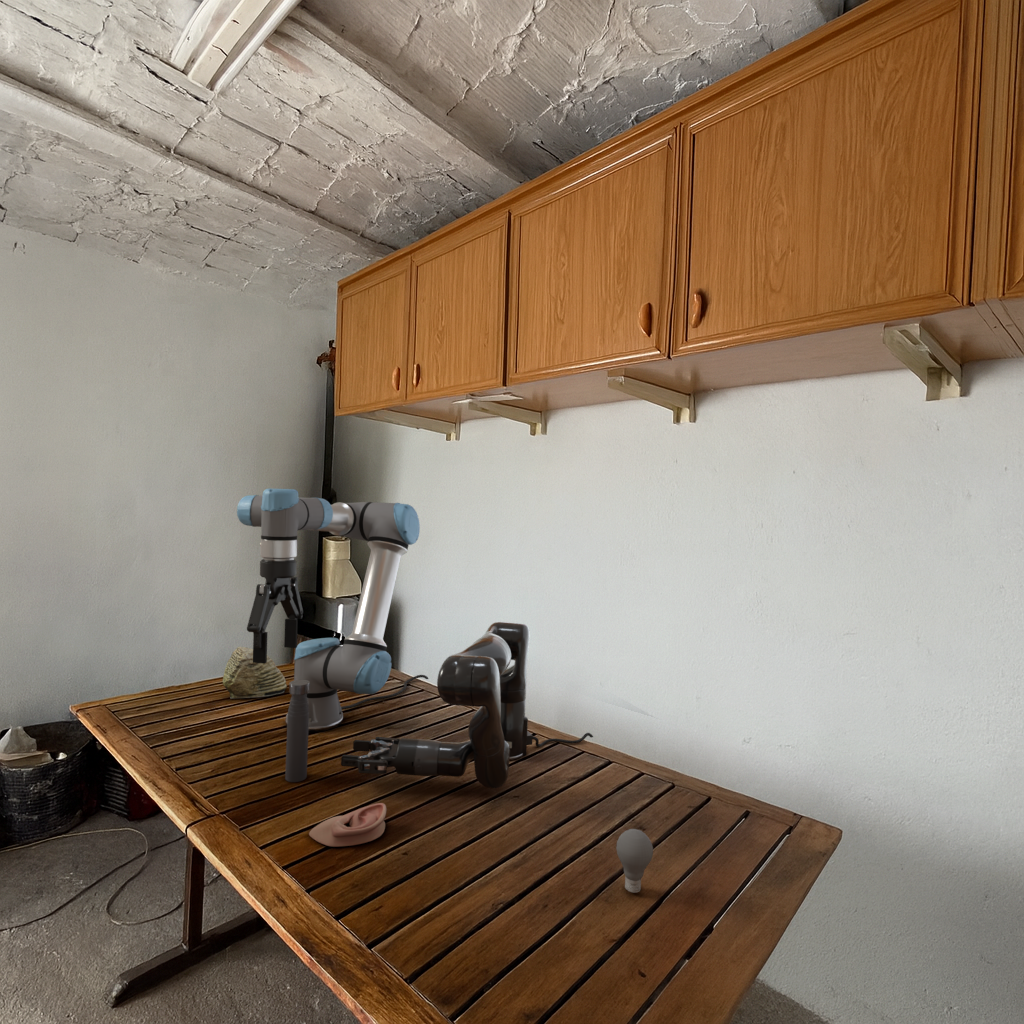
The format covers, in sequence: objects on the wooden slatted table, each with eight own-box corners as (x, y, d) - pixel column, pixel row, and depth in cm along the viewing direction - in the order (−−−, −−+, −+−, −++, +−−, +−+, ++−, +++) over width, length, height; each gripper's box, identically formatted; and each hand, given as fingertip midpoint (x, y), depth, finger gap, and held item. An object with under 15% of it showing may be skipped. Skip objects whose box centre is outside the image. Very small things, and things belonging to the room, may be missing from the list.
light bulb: (610, 879, 108) (613, 822, 108) (644, 879, 109) (647, 822, 109) (619, 902, 102) (622, 840, 102) (655, 901, 103) (658, 840, 103)
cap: (285, 691, 142) (285, 681, 142) (303, 688, 145) (304, 678, 145) (294, 696, 139) (294, 686, 139) (312, 692, 142) (313, 683, 142)
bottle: (281, 777, 142) (285, 683, 142) (300, 771, 145) (304, 680, 145) (290, 784, 139) (294, 688, 139) (310, 778, 142) (313, 684, 142)
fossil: (218, 695, 195) (220, 647, 195) (278, 685, 208) (279, 640, 207) (228, 703, 189) (230, 653, 188) (289, 692, 201) (290, 645, 201)
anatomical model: (301, 820, 116) (331, 792, 127) (300, 842, 116) (330, 812, 127) (368, 831, 113) (393, 801, 124) (368, 853, 113) (392, 821, 124)
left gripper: (289, 552, 152) (287, 640, 152) (230, 563, 127) (227, 668, 128) (319, 554, 151) (316, 642, 152) (265, 565, 126) (262, 671, 127)
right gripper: (426, 728, 148) (357, 724, 148) (413, 753, 133) (337, 748, 134) (424, 760, 148) (356, 756, 149) (412, 788, 133) (336, 783, 134)
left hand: (275, 654), depth 140 cm, fingers open, 13 cm apart
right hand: (347, 752), depth 141 cm, fingers open, 8 cm apart
